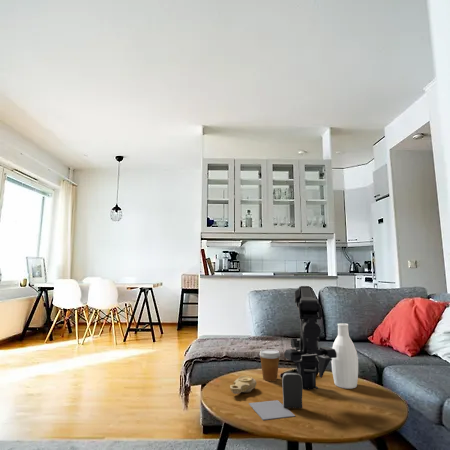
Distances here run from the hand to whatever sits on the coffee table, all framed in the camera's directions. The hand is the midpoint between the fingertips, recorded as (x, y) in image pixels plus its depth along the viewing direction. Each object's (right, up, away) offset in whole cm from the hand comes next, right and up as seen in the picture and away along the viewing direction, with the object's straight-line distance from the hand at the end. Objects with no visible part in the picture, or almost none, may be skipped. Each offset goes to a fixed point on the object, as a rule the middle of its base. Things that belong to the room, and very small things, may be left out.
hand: (311, 378), depth 122 cm
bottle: (+20, -13, +20) cm, 31 cm away
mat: (-16, -9, -6) cm, 19 cm away
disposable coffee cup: (-11, -14, +28) cm, 34 cm away
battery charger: (-8, -9, -3) cm, 12 cm away
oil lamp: (-24, -11, +12) cm, 29 cm away
